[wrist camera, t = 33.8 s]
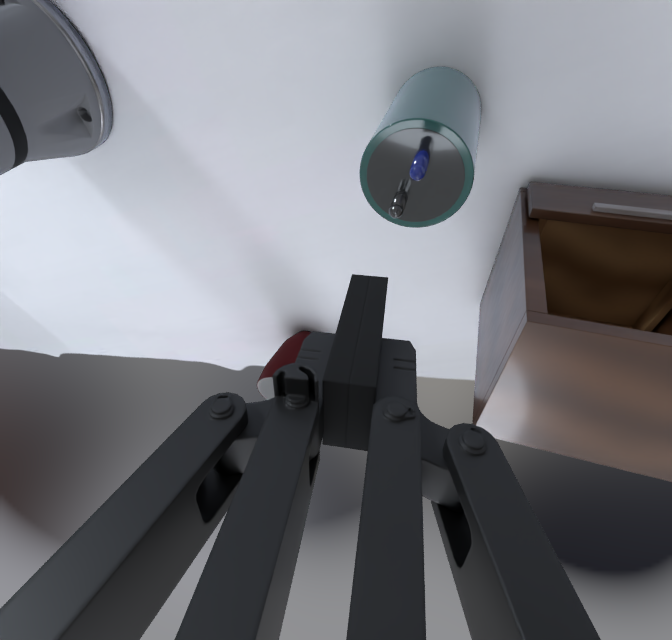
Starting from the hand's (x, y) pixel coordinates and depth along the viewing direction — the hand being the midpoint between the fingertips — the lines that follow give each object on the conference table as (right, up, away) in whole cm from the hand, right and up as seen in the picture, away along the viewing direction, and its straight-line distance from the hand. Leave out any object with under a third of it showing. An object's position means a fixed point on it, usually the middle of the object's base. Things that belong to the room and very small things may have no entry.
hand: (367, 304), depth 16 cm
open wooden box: (+22, +4, +19) cm, 30 cm away
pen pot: (+6, +16, +14) cm, 22 cm away
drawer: (+22, +5, +17) cm, 28 cm away
